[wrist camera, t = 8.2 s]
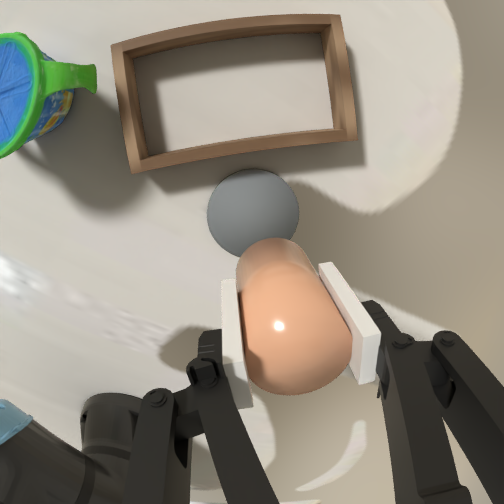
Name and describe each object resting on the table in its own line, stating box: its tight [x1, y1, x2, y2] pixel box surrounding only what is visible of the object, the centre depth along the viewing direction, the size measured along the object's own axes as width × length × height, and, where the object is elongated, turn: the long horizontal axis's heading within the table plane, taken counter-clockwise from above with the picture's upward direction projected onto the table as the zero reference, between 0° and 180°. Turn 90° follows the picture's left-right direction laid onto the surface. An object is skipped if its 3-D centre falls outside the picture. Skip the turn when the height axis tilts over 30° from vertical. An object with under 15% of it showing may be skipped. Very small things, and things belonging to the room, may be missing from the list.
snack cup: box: [0, 32, 97, 159], centre depth 20 cm, size 16×11×10 cm
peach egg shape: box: [236, 238, 353, 395], centre depth 16 cm, size 5×5×8 cm
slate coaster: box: [207, 169, 299, 257], centre depth 32 cm, size 9×9×1 cm
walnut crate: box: [111, 14, 358, 174], centre depth 25 cm, size 12×20×4 cm, turn 98°
